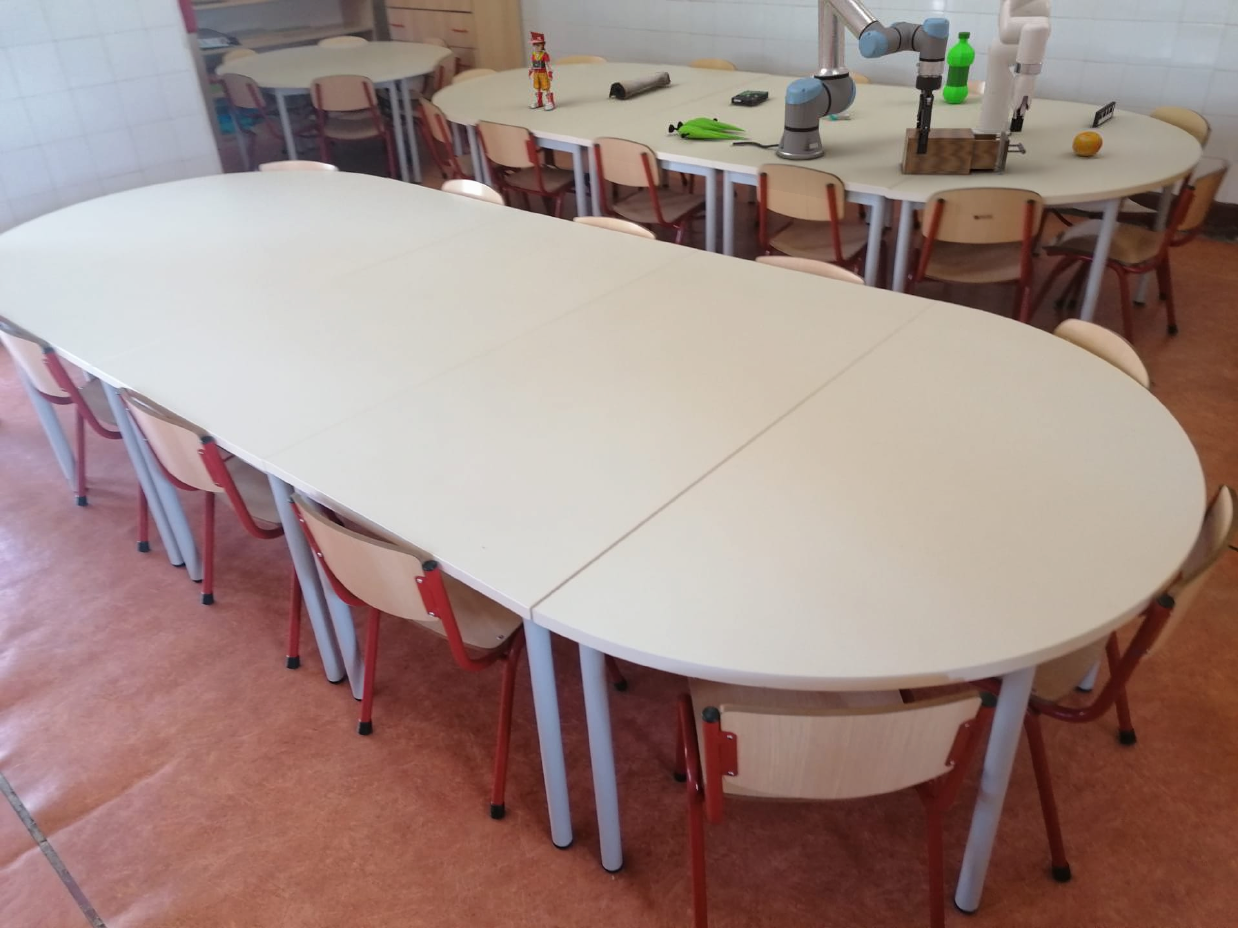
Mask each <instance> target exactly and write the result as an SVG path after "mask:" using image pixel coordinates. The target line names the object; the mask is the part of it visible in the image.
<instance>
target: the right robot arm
mask: <svg viewBox="0 0 1238 928" xmlns="http://www.w3.org/2000/svg"><path fill="white" fill-rule="evenodd" d="M1051 12H1052V6H1051V3H1050V1H1049V0H1000V3H999V10H998V13H997V14H998V15H997V27H998V36H996V37H993V39H992V40H990V42H989V44H988V48H987V64H986V65H987V67H986V76H985V81H984V88H983V96H982V100H981V106H980V110H979V111H980V112H979V117H978V123H977V126H974V127H973V128H972V132H973V134H997V137H996V138H1000V137H1001V132H1006V134H1007V136H1009V135H1010V134H1011V133H1021V132H1022V130H1023V126H1024V121H1025V115H1026V111H1029V110H1030V109H1031V107H1032V104H1033V103H1032V102H1033V99H1034V92H1035V88H1036V81H1037V76H1040V75H1041V73H1042V69H1043V64H1044V59H1045V53H1046V49H1047V44H1048V39H1049V37H1050V35H1051V32H1052V22H1051V21H1050V20H1051ZM1012 67H1014V68H1013V72H1012V71H1011V70H1010V69H1011V68H1012ZM1011 109H1012V110H1013V111H1012V117H1011V120H1010V119H1009V117H1010V110H1011Z"/></svg>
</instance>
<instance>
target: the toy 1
mask: <svg viewBox="0 0 1238 928" xmlns="http://www.w3.org/2000/svg"><path fill="white" fill-rule="evenodd" d="M529 33H530V35H531V36H528V37H527V38H528V39H529V40H528V41H527V43H529V44H530V43H531V44H532V48H533V50H534V51H533V52H532V55H531V58H530V59H531V63H530V66H528V74H527V75H528V76H527V77H528V79H529V80H531V75H532V74H533V84H532V85H533V86H532V87H533V88H534V89H535V90H536V92H534V95H535V97H536V100H535V101H533V102H531V105H530V108H531V109H535V108H538V107H542V106H544V101H543V100H544V99H543V95H544V92H546V94H545V97H546V99H547V103H546V104H545V106H544V110H546V111H549V110H553V109H554V107H555V106H556V105H555V99H554V92H551V91H550V90H551V86H552V84H551V82H552V81H553V80H554V77H553V73H554V71H555V70H554V69H552V68H551V63H550V61H551V59H550V58H551V57H550V54H549V53H548V52H547V50H546V48H545V46H546V44H547V41H545V35H544V33H543V32H542V33H539V32H535V31H529Z"/></svg>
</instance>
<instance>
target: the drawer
mask: <svg viewBox="0 0 1238 928" xmlns="http://www.w3.org/2000/svg"><path fill="white" fill-rule="evenodd" d="M973 134H974V133H973ZM974 137H975V141H974V147H973V153H972V159H971V165H970V170H971V169H976V170H977V169H978V170H996V166H997V167H998V169H999V171H1000V172H1004V171H1005V169H1006V165H1007V159H1008V155H1009V154H1008V153H1011V154H1012V153H1013V154H1014V153H1015V154H1017V153H1018V154H1019V153H1021V154H1022V155H1025V154H1026V153H1027V150H1026V148H1025V146H1024V145H1023V143H1022V142H1018V143H1016V144H1015V143H1014V144H1012V143H1011V140H1010V138H1009V135H1007V134H1006V132H1001V137H999V138H1000V139H997V138H998V137H997V134H974ZM1011 147H1012V148H1018V149H1015V150H1014V149H1009V148H1011Z"/></svg>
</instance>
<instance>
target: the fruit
mask: <svg viewBox="0 0 1238 928" xmlns="http://www.w3.org/2000/svg"><path fill="white" fill-rule="evenodd" d="M1102 146H1103V138H1102V136H1101V135H1100V134H1099V133H1098V132H1095V131H1084V132H1080V133H1079V134H1077V135H1076V136H1075V137H1074V138H1073V141H1072V151H1073V153H1075V154H1076V155H1078V156H1081V157H1090V156H1094V155H1096V154H1097V153H1099V151H1101V148H1102Z"/></svg>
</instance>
